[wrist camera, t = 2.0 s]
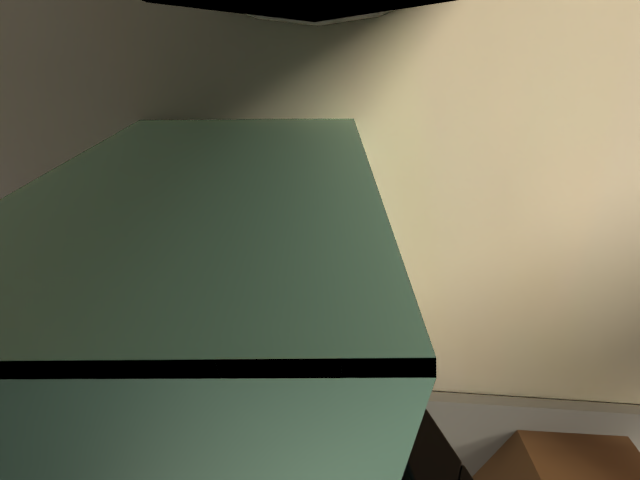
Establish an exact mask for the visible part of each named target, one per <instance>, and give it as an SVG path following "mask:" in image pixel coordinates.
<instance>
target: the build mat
mask: <svg viewBox="0 0 640 480" xmlns="http://www.w3.org/2000/svg"><path fill="white" fill-rule="evenodd" d="M426 409H427V411H428V412H429V414H430V415H431V416H432V418H433V419H434V421H435V422H436V424H437V425H438V427H439V428H440V430H441V431H442V433H443V434H444V436H445V437H446V439H447V440H448V442H449V443H450V445H451V446H452V448H453V449H454V451H455V452H456V454H457V455H458V457H459V458H460V460H461V461H462V465H464V466H465V467H466V469H467V470H468V472H469V473H470V475H471V476H472V477H473V476H474V475H475V473H476V472H477V471H478V470H479V469H480V468H481V467H482V466H483V465H484V464H485V463H486V462H487V461H488V460H489V459H490V458H491V457H492V456H493V455H494V454H495V453H496V451H497V450H498V449H499V448H500V447H501V446H502V445H503V444H504V443H505V442H506V441H507V440H508V439H509V438H510V437H511V436H512V435H513V434H514V433H515V432H516V431H517V430H528V431H546V432H563V433H580V434H597V435H614V436H628V437H629V438H630V440H631V441H632V442H633V444H634V445H635V446H636V448H637V449H638V450H639V452H640V405H632V404H617V403H602V402H587V401H571V400H556V399H541V398H526V397H510V396H495V395H480V394H465V393H449V392H434V391H432V392H431V395H430V397H429V400H428V403H427V406H426Z"/></svg>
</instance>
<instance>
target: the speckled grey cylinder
mask: <svg viewBox="0 0 640 480" xmlns="http://www.w3.org/2000/svg"><path fill="white" fill-rule="evenodd" d="M142 1H145V2H149V3H157V4H165V5H174V6H182V7H191V8H199V9H207V10H216V11H224V12H233V13H241V14H246V15H248V16H251V17H253V18H256V19H263V20H272V21H280V22H289V23H297V24H306V25H314V26H320V25H327V24H334V23H340V22H347V21H353V20H360V19H366V18H373V17H379V16H381V15H384V14H386V13H388V12H391V11H393V10H397V9H403V8H410V7H416V6H423V5H429V4H436V3H442V2H449V1H455V0H142Z"/></svg>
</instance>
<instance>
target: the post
mask: <svg viewBox="0 0 640 480" xmlns="http://www.w3.org/2000/svg"><path fill="white" fill-rule="evenodd" d="M472 478H473V479H474V480H640V452H639V450H638V449H637V448H636V446H635V445H634V444H633V442H632V441H631V440H630V438H629V437H628V436H614V435H597V434H580V433H563V432H546V431H528V430H517V431H516V432H515V433H514V434H513V435H512V436H511V437H510V438H509V439H508V440H507V441H506V442H505V443H504V444H503V445H502V446H501V447H500V448H499V449H498V450H497V451H496V453H495V454H494V455H493V456H492V457H491V458H490V459H489V460H488V461H487V462H486V463H485V464H484V465H483V466H482V467H481V468H480V469H479V470H478V471H477V472H476V473H475V475H474V476H473V477H472Z"/></svg>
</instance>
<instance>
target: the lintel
mask: <svg viewBox="0 0 640 480" xmlns="http://www.w3.org/2000/svg"><path fill="white" fill-rule="evenodd" d="M320 358H341V376H340V378H250V379H221V378H220V374H219V371H218V368H217V365H216V362H215V359H320ZM435 380H436V356H435V353H434V350H433V347H432V344H431V341H430V338H429V335H428V333H427V330H426V327H425V324H424V321H423V318H422V315H421V312H420V309H419V307H418V304H417V301H416V298H415V295H414V292H413V289H412V286H411V283H410V280H409V278H408V275H407V272H406V269H405V266H404V263H403V260H402V257H401V254H400V251H399V249H398V246H397V243H396V240H395V237H394V234H393V231H392V228H391V225H390V222H389V220H388V217H387V214H386V211H385V208H384V205H383V202H382V199H381V196H380V193H379V191H378V188H377V185H376V182H375V179H374V176H373V173H372V170H371V167H370V164H369V162H368V159H367V156H366V153H365V150H364V147H363V144H362V141H361V138H360V135H359V133H358V130H357V127H356V124H355V121H354V119H237V120H139V121H137V122H136V123H134V124H132V125H130V126H129V127H127V128H125V129H123V130H122V131H120V132H118V133H116V134H115V135H113V136H111V137H109V138H108V139H106V140H104V141H102V142H100V143H99V144H97V145H95V146H93V147H92V148H90V149H88V150H86V151H85V152H83V153H81V154H79V155H78V156H76V157H74V158H72V159H71V160H69V161H67V162H65V163H64V164H62V165H60V166H58V167H56V168H55V169H53V170H51V171H49V172H48V173H46V174H44V175H42V176H41V177H39V178H37V179H35V180H34V181H32V182H30V183H28V184H27V185H25V186H23V187H21V188H19V189H18V190H16V191H14V192H12V193H11V194H9V195H7V196H5V197H4V198H2V199H0V480H401V479H402V476H403V473H404V471H405V468H406V465H407V462H408V459H409V456H410V453H411V450H412V447H413V444H414V441H415V438H416V435H417V433H418V430H419V427H420V424H421V421H422V418H423V415H424V412H425V409H426V406H427V403H428V400H429V397H430V395H431V392H432V389H433V386H434V383H435Z"/></svg>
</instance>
